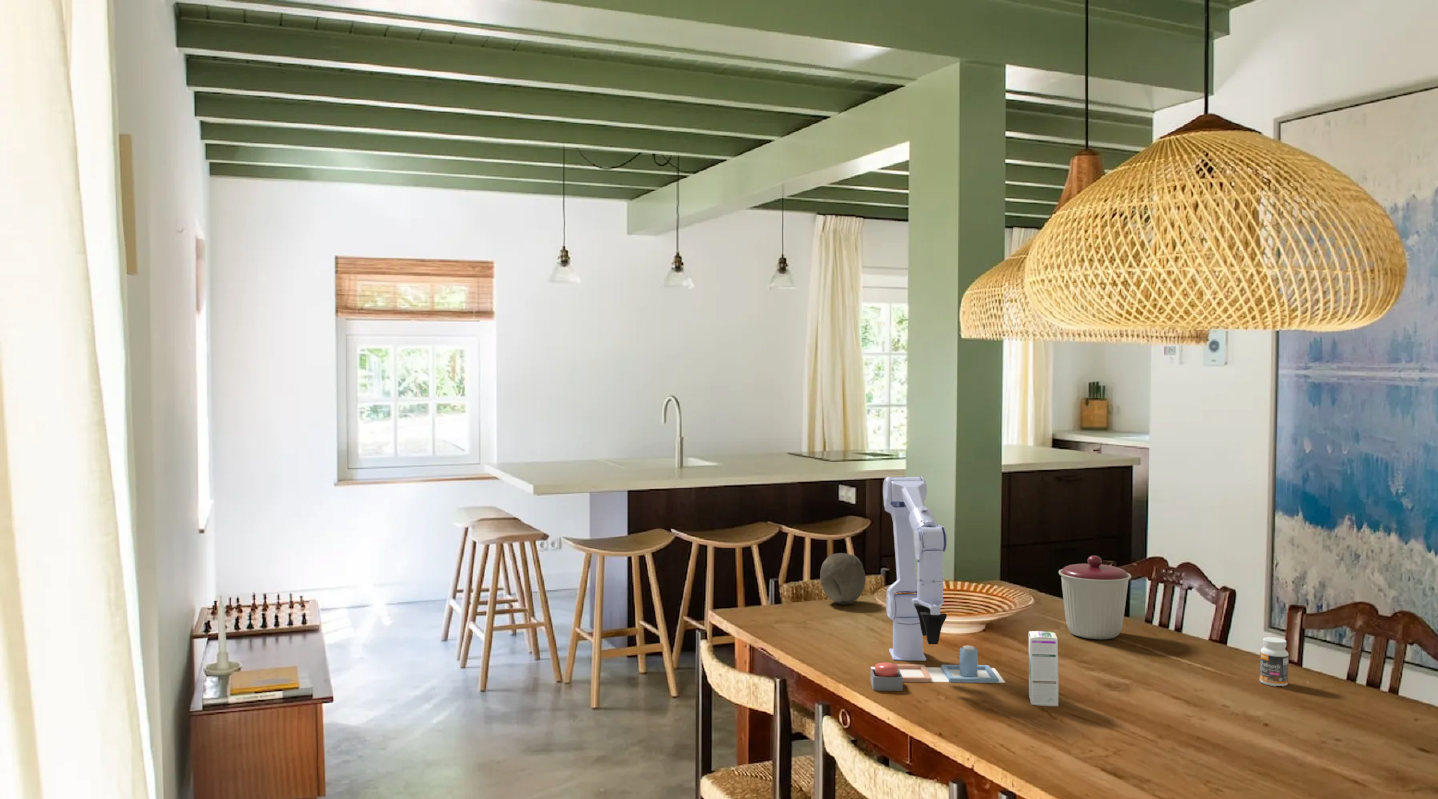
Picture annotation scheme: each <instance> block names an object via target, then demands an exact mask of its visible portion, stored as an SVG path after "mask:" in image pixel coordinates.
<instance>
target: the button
mask: <svg viewBox="0 0 1438 799" xmlns="http://www.w3.org/2000/svg"><path fill="white" fill-rule="evenodd" d="M874 667H875V675H876V676H878V677H897V676H898V665H896V664H895V663H893V662H877V663H875V665H874Z"/></svg>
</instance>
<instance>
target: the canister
mask: <svg viewBox="0 0 1438 799" xmlns="http://www.w3.org/2000/svg"><path fill="white" fill-rule="evenodd" d="M1102 562H1103V561H1102V558H1101V557H1100V556H1098V555H1090V556H1089V557H1088V558H1087V563H1076V564H1069V565H1066V566H1064V567H1063V568H1062V569H1059V570H1058V574H1059V576H1061V577H1060V578H1061V590H1062V598H1063V600H1062V601H1063V607H1064V615H1065V623H1066V626H1067V630H1068V631H1069V632H1070V633H1071V634H1072V635H1074V636H1077V637H1079V638H1083V639H1090V640H1109V639H1110V640H1111V639H1114V638H1116V637H1118V636H1119V635H1120V633H1121V632H1122V629H1123V623H1124V617H1125V613H1126V612H1125V609H1126V601H1127V594H1128V588H1129V587H1128V586H1129V580H1131V578H1132V575H1131V574H1130V573H1129V572H1127V571H1126V570H1125V569H1123V568H1120V567H1117V566H1113V565H1109V564H1102Z"/></svg>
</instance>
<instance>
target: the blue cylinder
mask: <svg viewBox="0 0 1438 799" xmlns="http://www.w3.org/2000/svg"><path fill="white" fill-rule="evenodd" d="M978 651H979V649H978V648H976V647H975V645H974V646H973V645H969V644H967V645H963V646H962V647H960V648H959V665H960V676H962V677H977V676H978V665H979V664H978V662H979V660H978V659H979V658H978V654H979V653H978Z"/></svg>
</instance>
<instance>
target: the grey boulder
mask: <svg viewBox="0 0 1438 799" xmlns="http://www.w3.org/2000/svg"><path fill="white" fill-rule="evenodd" d="M819 577H820V585H821V587H822V589H823V591H824V593H825V594H826V596H827V597H828V598H829V599H831V600H832V601H833V602H834V603H837V604H840V605H850V604H853V603H854V602H856V601H857V600H858V599H859V598H860V597H861V595H862V593H863V592H864V588H865V585H866V580H867V579H866V573H865V569H864V566H863V563H862V561H861V560H860V559H859V558H858V557H857V556H856V555H855V554H849V553H844V552H838V553H833V554H830V555H829V556H827V557H826V558H825V560H824V561H823V562H822V564H821V567H820V574H819Z"/></svg>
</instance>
